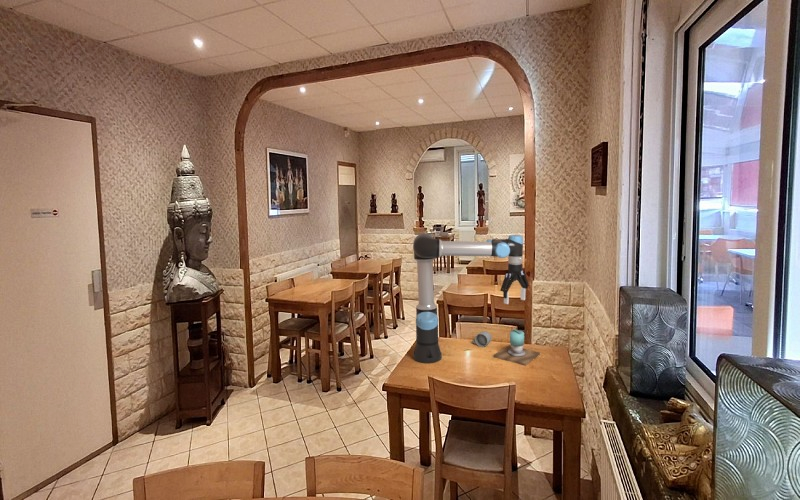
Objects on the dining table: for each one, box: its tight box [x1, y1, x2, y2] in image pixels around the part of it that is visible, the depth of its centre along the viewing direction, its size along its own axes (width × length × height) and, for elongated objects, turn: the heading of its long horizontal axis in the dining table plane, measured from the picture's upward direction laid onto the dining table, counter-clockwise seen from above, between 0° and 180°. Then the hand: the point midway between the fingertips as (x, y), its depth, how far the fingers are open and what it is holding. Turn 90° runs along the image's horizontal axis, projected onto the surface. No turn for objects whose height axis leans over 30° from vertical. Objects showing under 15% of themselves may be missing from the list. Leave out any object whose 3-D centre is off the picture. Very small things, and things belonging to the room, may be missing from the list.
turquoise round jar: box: [509, 328, 525, 346], centre depth 220 cm, size 7×7×7 cm
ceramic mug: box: [471, 330, 492, 348], centre depth 239 cm, size 11×8×8 cm
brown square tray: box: [492, 344, 541, 367], centre depth 221 cm, size 18×18×7 cm
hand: (514, 301), depth 228 cm, fingers open, 13 cm apart
